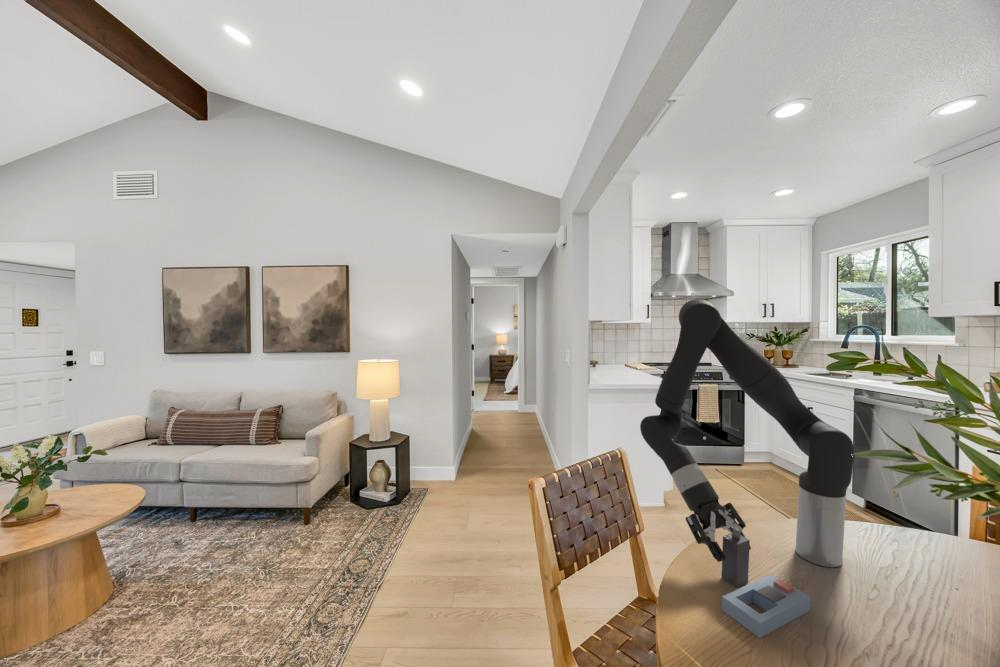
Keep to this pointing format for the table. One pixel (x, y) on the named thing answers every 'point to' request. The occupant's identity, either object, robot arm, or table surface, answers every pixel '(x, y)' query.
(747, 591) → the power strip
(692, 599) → the table surface
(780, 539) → the table surface
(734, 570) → the black plug
